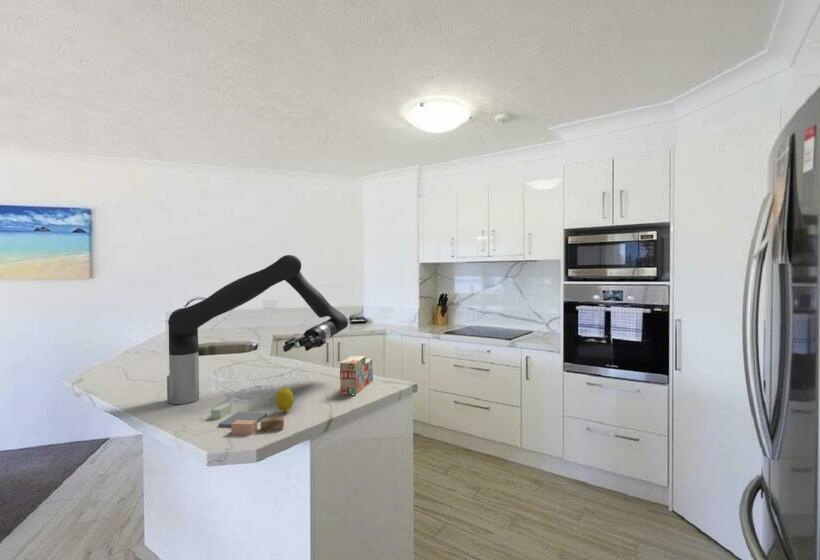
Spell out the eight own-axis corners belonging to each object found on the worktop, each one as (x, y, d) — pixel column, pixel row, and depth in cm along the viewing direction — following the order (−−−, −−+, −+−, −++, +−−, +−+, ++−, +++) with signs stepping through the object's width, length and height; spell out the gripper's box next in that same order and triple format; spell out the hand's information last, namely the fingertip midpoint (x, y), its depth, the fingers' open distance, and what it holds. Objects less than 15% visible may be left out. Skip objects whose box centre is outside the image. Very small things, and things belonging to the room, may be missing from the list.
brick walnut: (260, 432, 111) (260, 421, 111) (262, 428, 114) (262, 418, 114) (282, 430, 112) (282, 420, 112) (284, 426, 115) (284, 416, 115)
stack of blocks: (359, 380, 166) (358, 351, 166) (373, 380, 165) (372, 351, 165) (340, 395, 145) (339, 362, 145) (356, 395, 144) (355, 362, 144)
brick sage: (220, 419, 122) (220, 410, 122) (211, 419, 122) (211, 409, 122) (231, 412, 128) (231, 403, 128) (222, 412, 128) (222, 403, 128)
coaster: (218, 426, 115) (218, 423, 115) (238, 414, 125) (237, 412, 125) (250, 427, 114) (250, 425, 114) (267, 415, 124) (267, 413, 124)
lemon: (297, 410, 128) (297, 386, 128) (284, 415, 123) (283, 390, 123) (285, 408, 131) (285, 384, 131) (272, 413, 126) (271, 388, 126)
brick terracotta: (231, 434, 110) (231, 423, 110) (237, 430, 113) (237, 419, 113) (251, 435, 109) (251, 424, 109) (257, 430, 112) (256, 420, 112)
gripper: (299, 327, 153) (275, 339, 138) (332, 325, 150) (311, 337, 134) (302, 345, 154) (279, 359, 139) (335, 343, 151) (315, 358, 135)
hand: (295, 348), depth 136 cm, fingers open, 8 cm apart
